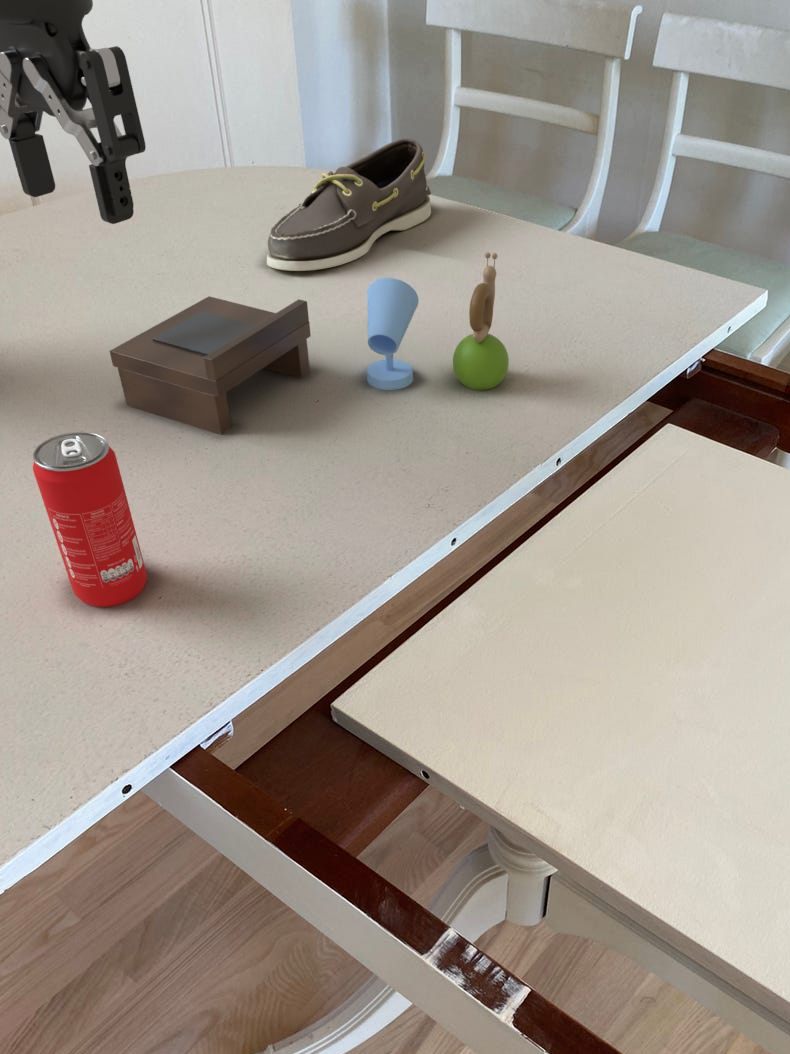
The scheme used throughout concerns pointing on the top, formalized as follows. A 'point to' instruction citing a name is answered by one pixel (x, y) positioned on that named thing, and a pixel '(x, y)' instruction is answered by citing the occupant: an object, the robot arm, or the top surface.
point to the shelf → (209, 358)
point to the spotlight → (389, 331)
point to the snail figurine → (481, 340)
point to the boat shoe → (353, 209)
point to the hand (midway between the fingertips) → (79, 206)
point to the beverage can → (90, 517)
